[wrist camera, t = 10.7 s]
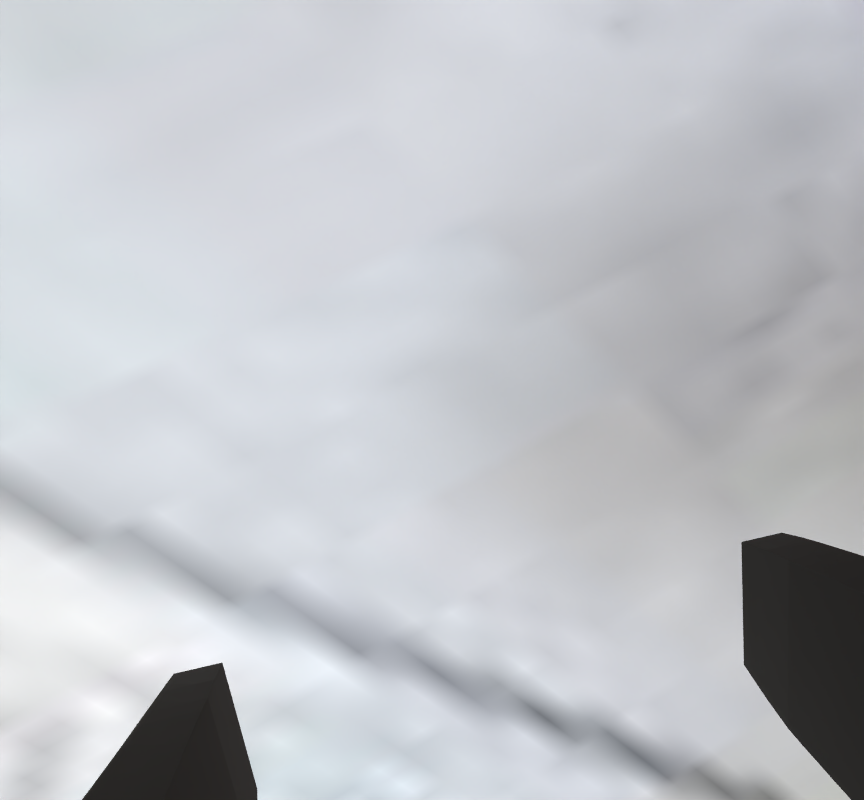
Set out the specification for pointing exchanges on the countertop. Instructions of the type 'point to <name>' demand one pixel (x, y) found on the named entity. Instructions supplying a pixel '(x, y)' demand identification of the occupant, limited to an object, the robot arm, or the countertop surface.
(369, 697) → the countertop surface
